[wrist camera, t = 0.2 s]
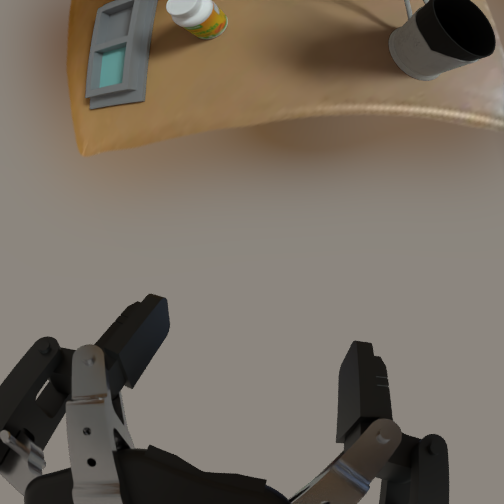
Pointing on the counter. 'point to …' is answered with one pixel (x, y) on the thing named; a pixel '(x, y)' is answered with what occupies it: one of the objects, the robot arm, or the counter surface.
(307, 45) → the counter surface
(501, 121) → the counter surface
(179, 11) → the supplement bottle
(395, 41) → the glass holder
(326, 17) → the counter surface
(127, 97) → the divided tray
